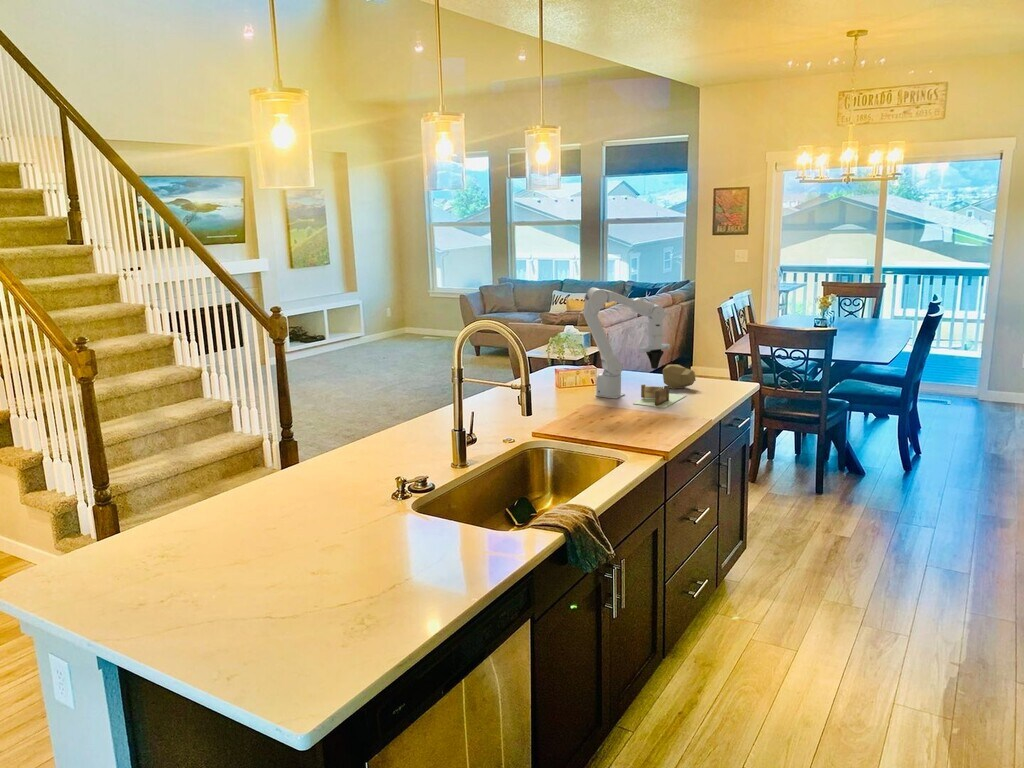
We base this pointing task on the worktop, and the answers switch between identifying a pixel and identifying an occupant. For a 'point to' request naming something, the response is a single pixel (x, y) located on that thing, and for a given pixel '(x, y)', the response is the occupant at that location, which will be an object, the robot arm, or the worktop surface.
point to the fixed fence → (661, 395)
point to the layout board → (664, 404)
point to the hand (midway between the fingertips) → (654, 368)
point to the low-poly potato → (678, 376)
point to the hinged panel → (649, 391)
